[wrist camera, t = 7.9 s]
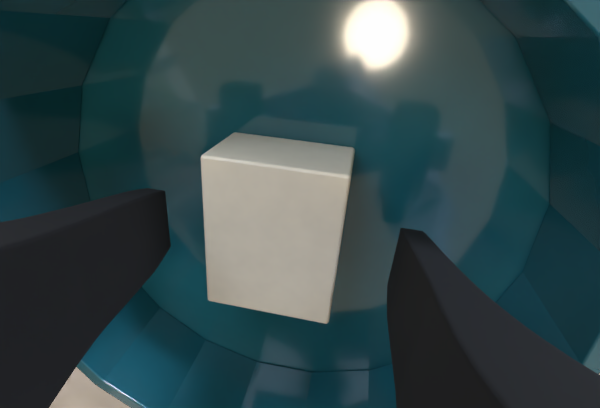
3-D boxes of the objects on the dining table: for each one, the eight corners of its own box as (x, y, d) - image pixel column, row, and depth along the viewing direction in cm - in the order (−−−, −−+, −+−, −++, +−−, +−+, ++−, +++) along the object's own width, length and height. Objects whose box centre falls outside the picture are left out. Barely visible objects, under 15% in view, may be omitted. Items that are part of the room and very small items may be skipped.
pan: (320, 418, 18) (307, 522, 14) (25, 209, 15) (-90, 266, 12) (692, 192, 10) (881, 285, 6) (228, -284, 8) (93, -582, 4)
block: (355, 146, 11) (351, 176, 9) (336, 274, 13) (328, 325, 11) (233, 131, 12) (199, 155, 9) (234, 257, 14) (206, 301, 11)
